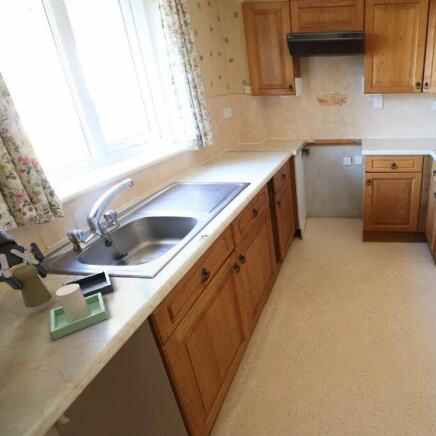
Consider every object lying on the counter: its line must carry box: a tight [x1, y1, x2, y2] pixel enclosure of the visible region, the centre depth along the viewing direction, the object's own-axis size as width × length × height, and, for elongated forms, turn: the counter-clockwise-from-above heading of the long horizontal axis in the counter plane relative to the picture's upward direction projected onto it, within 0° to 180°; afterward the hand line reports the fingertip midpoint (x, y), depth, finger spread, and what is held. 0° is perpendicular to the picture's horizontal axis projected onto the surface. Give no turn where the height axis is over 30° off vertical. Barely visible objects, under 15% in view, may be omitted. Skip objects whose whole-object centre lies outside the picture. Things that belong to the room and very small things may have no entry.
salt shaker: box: [55, 284, 91, 322], centre depth 85 cm, size 5×5×9 cm
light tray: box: [49, 293, 109, 340], centre depth 87 cm, size 12×11×2 cm
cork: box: [11, 265, 53, 309], centre depth 89 cm, size 6×6×11 cm
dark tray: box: [62, 269, 115, 298], centre depth 98 cm, size 12×11×2 cm
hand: (33, 282), depth 88 cm, fingers closed on cork, 5 cm apart
